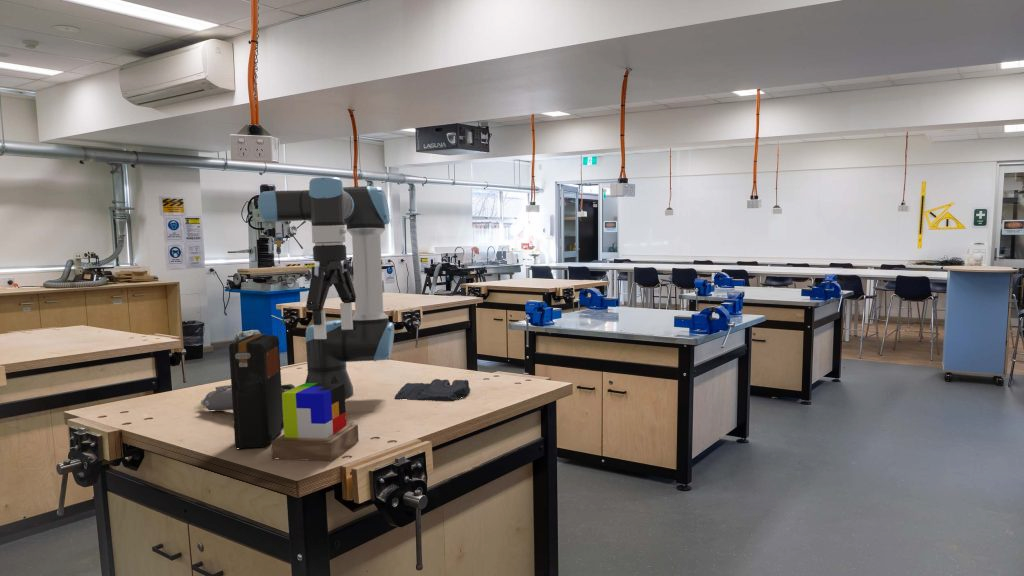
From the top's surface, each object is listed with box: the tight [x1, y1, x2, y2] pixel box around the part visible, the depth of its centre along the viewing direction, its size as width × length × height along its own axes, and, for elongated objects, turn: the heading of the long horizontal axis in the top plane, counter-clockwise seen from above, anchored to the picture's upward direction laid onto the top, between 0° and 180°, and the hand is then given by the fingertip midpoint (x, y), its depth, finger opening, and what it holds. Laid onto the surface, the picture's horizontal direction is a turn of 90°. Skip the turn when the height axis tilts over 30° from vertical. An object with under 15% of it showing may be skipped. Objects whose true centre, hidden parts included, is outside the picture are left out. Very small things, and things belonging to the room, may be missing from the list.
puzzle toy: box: [282, 382, 347, 439], centre depth 144 cm, size 10×10×10 cm
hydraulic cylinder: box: [200, 383, 296, 411], centre depth 178 cm, size 7×37×10 cm, turn 61°
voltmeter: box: [228, 333, 284, 449], centre depth 153 cm, size 16×9×25 cm, turn 5°
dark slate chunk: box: [394, 378, 471, 402], centre depth 196 cm, size 15×22×5 cm
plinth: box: [270, 423, 360, 462], centre depth 145 cm, size 14×14×4 cm
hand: (334, 334), depth 151 cm, fingers open, 13 cm apart
